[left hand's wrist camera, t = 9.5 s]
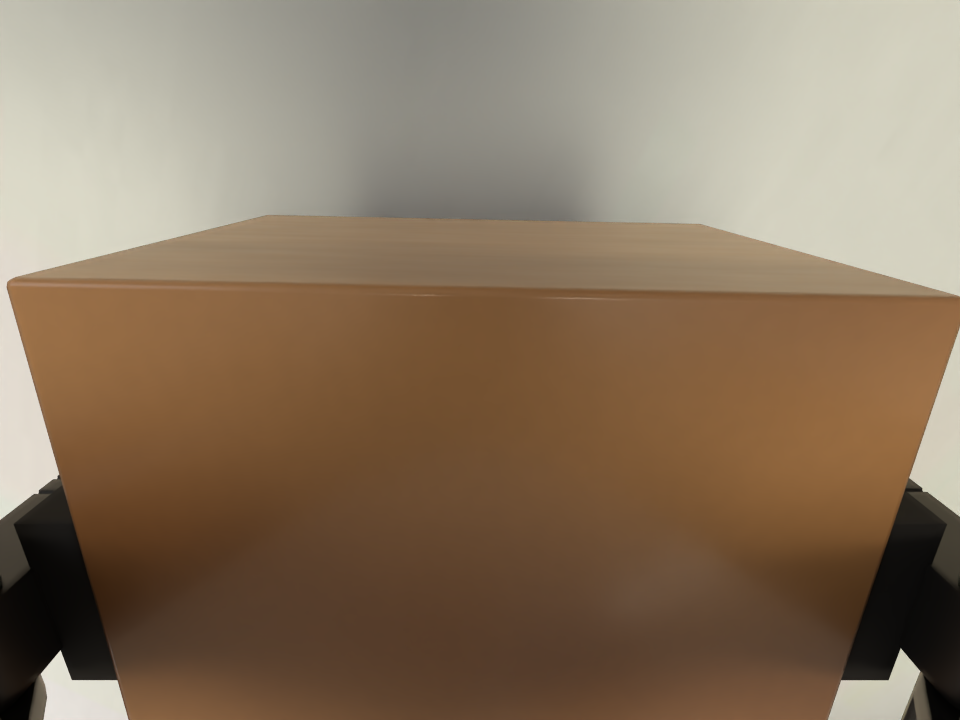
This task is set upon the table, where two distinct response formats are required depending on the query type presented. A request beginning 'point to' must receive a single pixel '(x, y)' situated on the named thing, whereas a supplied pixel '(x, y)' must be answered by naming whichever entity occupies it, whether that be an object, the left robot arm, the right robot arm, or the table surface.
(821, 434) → the wooden beam
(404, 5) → the table surface
